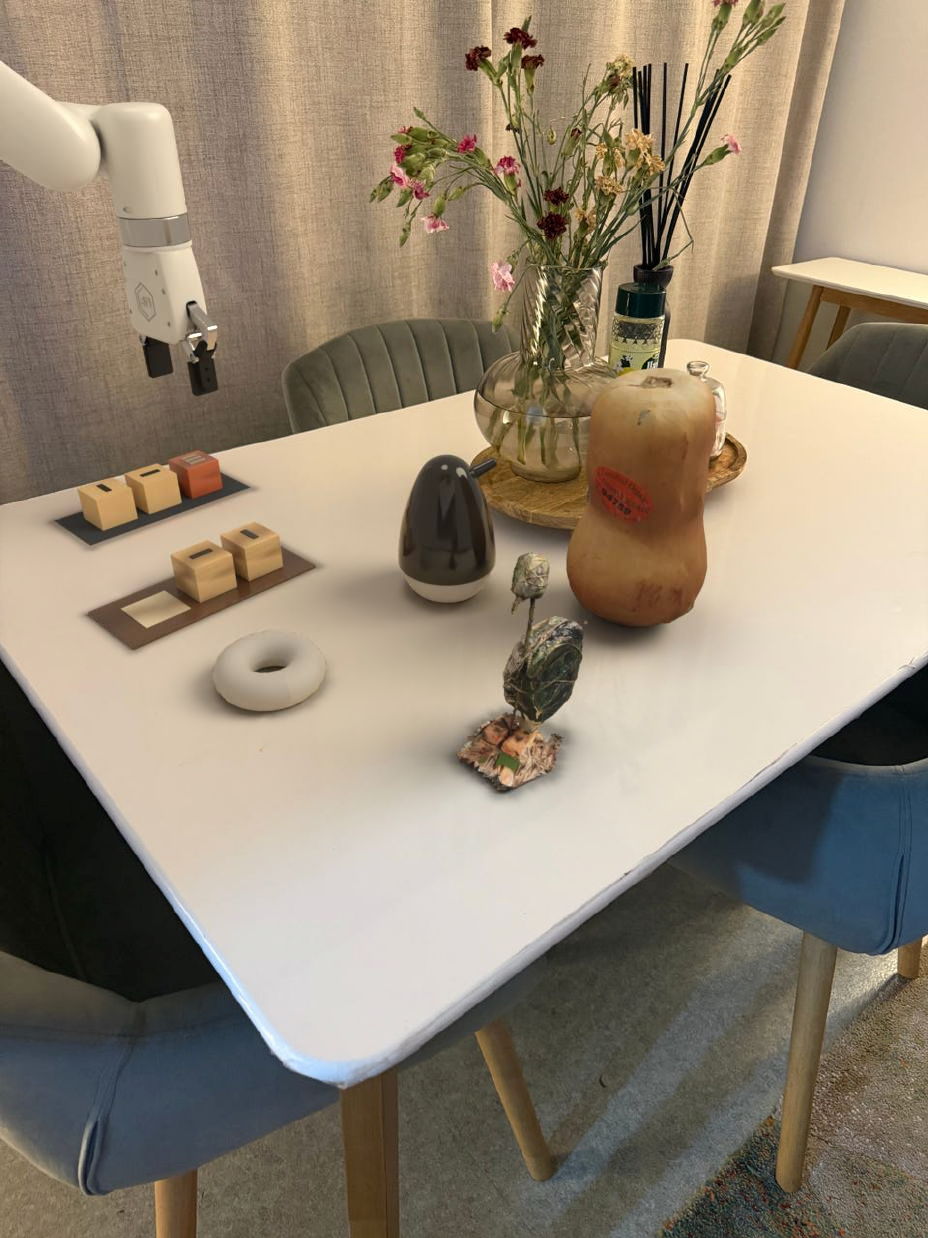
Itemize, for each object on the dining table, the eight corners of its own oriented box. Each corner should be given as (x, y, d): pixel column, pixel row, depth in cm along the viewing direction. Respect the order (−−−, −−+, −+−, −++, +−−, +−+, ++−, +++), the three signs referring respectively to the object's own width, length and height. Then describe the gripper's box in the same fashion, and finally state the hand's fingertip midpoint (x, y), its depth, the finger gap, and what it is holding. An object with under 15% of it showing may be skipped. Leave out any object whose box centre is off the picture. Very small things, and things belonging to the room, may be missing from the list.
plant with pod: (605, 749, 73) (632, 534, 62) (495, 805, 68) (504, 580, 57) (543, 699, 79) (558, 494, 68) (437, 747, 73) (434, 532, 63)
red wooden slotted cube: (173, 488, 114) (167, 458, 112) (203, 478, 117) (198, 448, 114) (192, 499, 111) (187, 468, 109) (222, 488, 114) (218, 458, 112)
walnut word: (89, 616, 90) (78, 576, 87) (267, 542, 103) (262, 506, 101) (135, 652, 85) (125, 610, 82) (316, 569, 98) (312, 531, 95)
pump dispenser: (511, 605, 92) (517, 469, 84) (415, 623, 89) (412, 484, 81) (476, 559, 100) (478, 431, 92) (388, 575, 97) (381, 444, 89)
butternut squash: (536, 622, 89) (551, 377, 76) (602, 570, 98) (627, 343, 85) (660, 672, 82) (702, 413, 69) (720, 611, 91) (767, 371, 78)
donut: (279, 641, 86) (192, 687, 80) (276, 611, 85) (186, 655, 78) (349, 682, 81) (262, 735, 75) (348, 651, 79) (258, 702, 73)
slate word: (55, 524, 106) (45, 488, 104) (212, 471, 120) (207, 438, 117) (91, 549, 101) (82, 512, 99) (251, 491, 115) (247, 457, 112)
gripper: (85, 227, 100) (118, 376, 110) (167, 247, 91) (196, 408, 100) (144, 218, 105) (171, 362, 114) (229, 236, 95) (251, 392, 105)
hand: (183, 383), depth 107 cm, fingers open, 9 cm apart
